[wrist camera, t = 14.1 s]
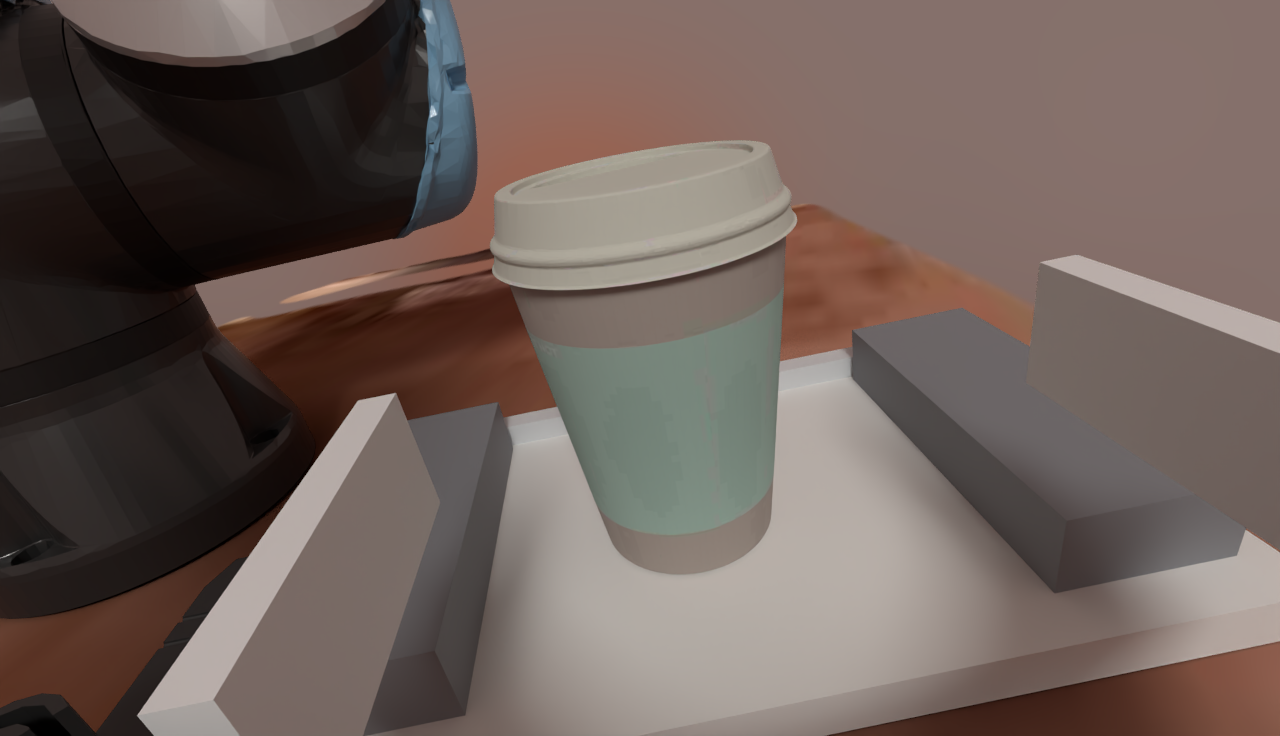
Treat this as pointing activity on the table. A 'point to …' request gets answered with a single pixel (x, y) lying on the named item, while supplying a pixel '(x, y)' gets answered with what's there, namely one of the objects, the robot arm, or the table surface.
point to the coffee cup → (659, 336)
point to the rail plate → (820, 564)
